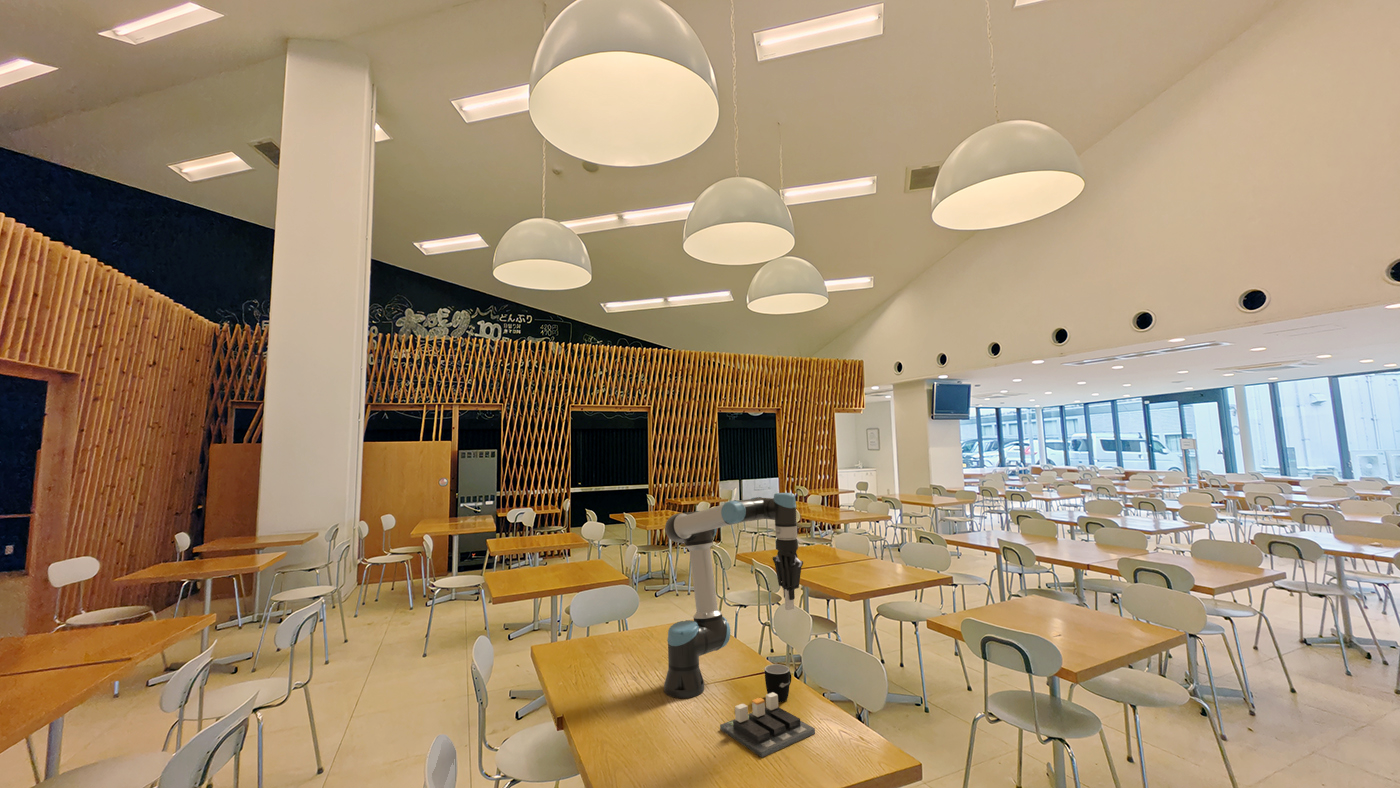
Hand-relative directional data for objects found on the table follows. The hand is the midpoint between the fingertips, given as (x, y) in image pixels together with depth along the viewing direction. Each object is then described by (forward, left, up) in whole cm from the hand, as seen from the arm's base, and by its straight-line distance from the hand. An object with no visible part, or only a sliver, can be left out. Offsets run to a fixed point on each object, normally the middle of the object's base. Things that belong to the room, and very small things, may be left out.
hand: (789, 608), depth 181 cm
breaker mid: (-2, -14, -31) cm, 34 cm away
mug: (-13, +6, -35) cm, 37 cm away
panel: (+2, -14, -34) cm, 37 cm away
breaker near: (-3, -21, -31) cm, 37 cm away
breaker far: (-2, -8, -31) cm, 32 cm away
